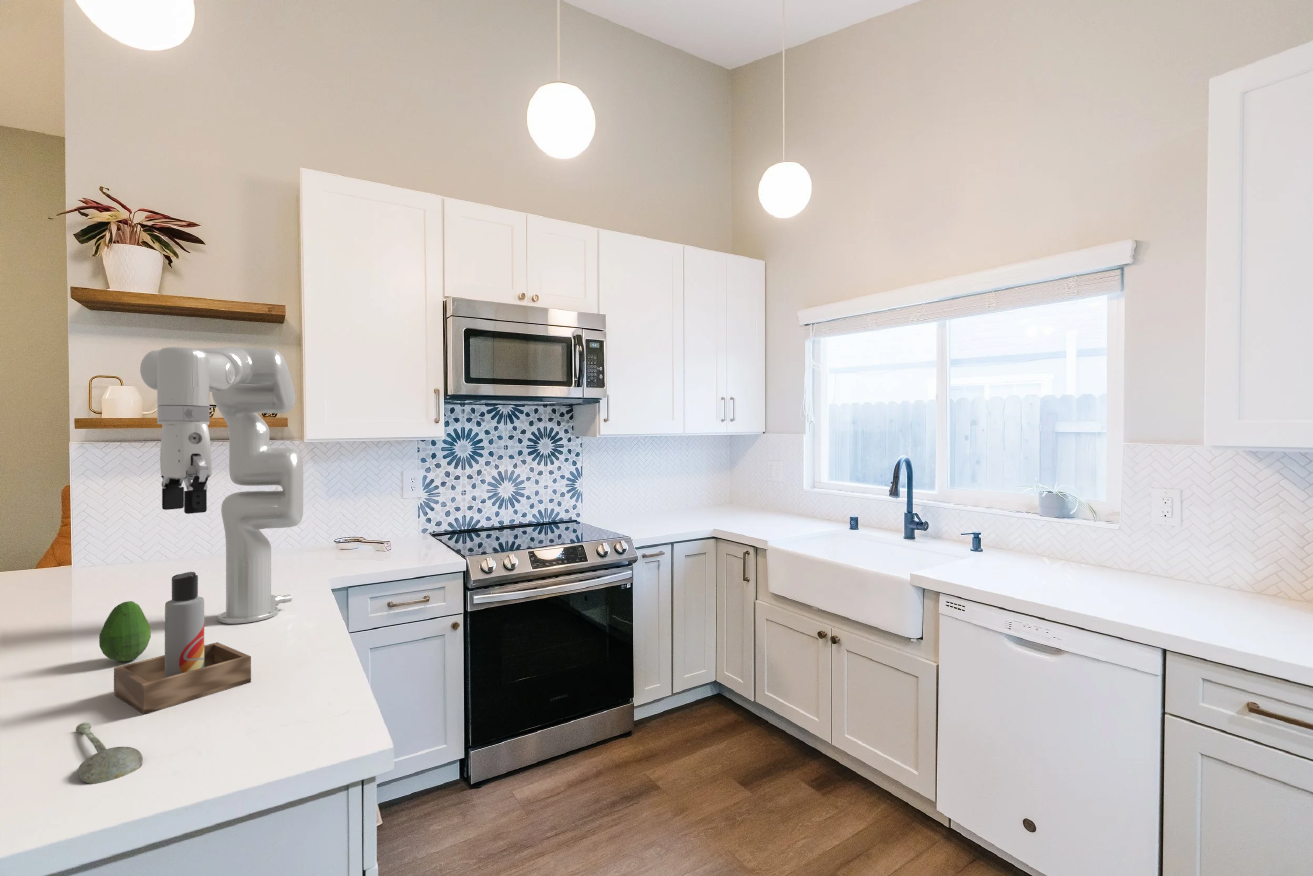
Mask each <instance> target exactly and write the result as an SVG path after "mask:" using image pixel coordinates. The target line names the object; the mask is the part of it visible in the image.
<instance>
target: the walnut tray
mask: <svg viewBox="0 0 1313 876" xmlns="http://www.w3.org/2000/svg"><path fill="white" fill-rule="evenodd" d="M249 683H252V656H251V655H249V654H247V653H243V652H242V651H239V650H238V649H235V648H233V647H230V646H227V645H225V644H222V643H220V642H218V641H217V642H213V643H209V644H204V667H203V668H200V669H196V670H192V671H188V672H185V673H181V674H177V675H174V676H170V677H166V678H165V654H164V655H159V656H156V657H151V658H148V659H147V658H146V659H144V660H139V661H136V662H132V663H127V664H124V665H119V666H115V667H113V695H114V696H115V697H117V698H118V699H120V700H121V701H123V702H124V703H126V704H127V705H129V706H130V707H131V708H133V709H134V710H137V711H138V712H140V713H141V714H142V715H147V714H150V713H154V712H157V711H161V710H164V709H166V708H167V709H168V708H170V707H174V706H177V705H181V704H184V703H187V702H189V701H193V700H197V699H200V698H203V697H207V696H209V695H213V694H217V693H219V692H222V691H226V690H230V689H233V688H236V687H240V686H242V685H246V684H249Z"/></svg>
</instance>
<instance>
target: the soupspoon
mask: <svg viewBox="0 0 1313 876" xmlns="http://www.w3.org/2000/svg"><path fill="white" fill-rule="evenodd" d="M91 728H92V724H91V722H87V721H85V722H82V723H79V724H78V725H76V727H75V732H76V733H82V734H84V736H86V737H87V739H88V740H89V741H90V743H91V744H92V745H93V748H94V749H95V750H96V753H94V754H92V755H91V756H89V757H87V758H86V759H85V760H84V761H82V762H81V763H80V765H79V766H78V769H77V773H78V776H79V777H80V780H81V781H82V782H85V783H87V784H91V785H95V784H97V785H98V784H101V783H107V782H110V781H113V780H114V781H115V780H116V779H120V778H123V777H126V776H128V775H129V774H132V773H134V772H135V771H138V770H139V769H141V768H142V765H143V758H144V757H143V755H142V753H141V752H140V750H138V749H137V748H134V747H131V746H114V747H109V748H107V747H106V746H105V745H104V743H103V742H102V741H101V740H100V738H98V737H97V736H96V735H95V734H94V733H93V732H92V731H91Z"/></svg>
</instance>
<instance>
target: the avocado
mask: <svg viewBox="0 0 1313 876" xmlns="http://www.w3.org/2000/svg"><path fill="white" fill-rule="evenodd" d="M151 633H152V632H151V626H150V623H149V621H148V619H147V617H146V615H145V613H144V612H143V609H142V608H141V606H140V605H139V604H138V603H136V602H135V601H134V600H133V601H132V600H130V601H129V600H128V601H123V602H121V603H119V604H117V605H116V606H115V607H114V608H113V609H112V610H111V612H109V614H108V616H107V618H106V619H105V622H104V623H103V626H102V629H101V631H100V632H99V637H98V638H99V639H98V642H99V648H100V650H101V653H102V654H103V655H104V656H105V657H106V658H109V659H110V660H112V661H117V662H130V661H132V660H133V661H134V660H136V659H137V658H139V656H141V655H142V654H143V652H145V650H146V648H148V646H149V642H150V640H151V637H152V636H151V635H152V634H151Z"/></svg>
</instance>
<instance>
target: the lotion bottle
mask: <svg viewBox="0 0 1313 876" xmlns="http://www.w3.org/2000/svg"><path fill="white" fill-rule="evenodd" d="M204 645H205V598H204V597H202V596H199V575H198V574H196V572H195V571H187V572H183V573H179V574H175V575H173V576H172V577H171V599H170V600H168V601H166V602H165V604H164V655H165V678H166V677H170V676H174V675H177V674H181V673H185V672H188V671H192V670H196V669H200V668H203V667H204Z"/></svg>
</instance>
